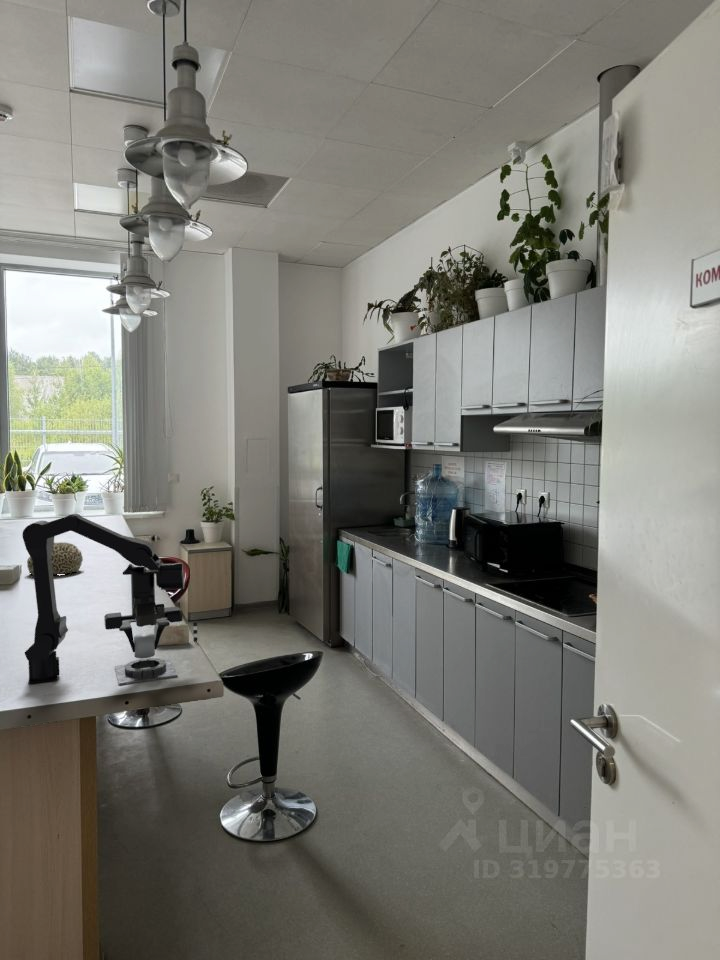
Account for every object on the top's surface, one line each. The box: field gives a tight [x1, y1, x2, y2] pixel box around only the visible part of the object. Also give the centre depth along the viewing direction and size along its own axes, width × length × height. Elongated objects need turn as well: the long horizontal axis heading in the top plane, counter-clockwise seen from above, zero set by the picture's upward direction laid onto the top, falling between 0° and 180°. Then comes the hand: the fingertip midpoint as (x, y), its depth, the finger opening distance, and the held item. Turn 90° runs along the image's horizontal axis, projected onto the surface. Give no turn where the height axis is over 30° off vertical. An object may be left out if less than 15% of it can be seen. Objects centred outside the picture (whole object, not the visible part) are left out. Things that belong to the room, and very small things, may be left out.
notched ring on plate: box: [114, 657, 179, 686], centre depth 172 cm, size 14×14×2 cm
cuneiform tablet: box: [153, 621, 198, 646], centre depth 196 cm, size 6×4×12 cm
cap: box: [133, 632, 156, 659], centre depth 171 cm, size 5×5×5 cm
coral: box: [26, 541, 84, 575], centre depth 303 cm, size 23×18×15 cm
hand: (144, 650), depth 172 cm, fingers closed on cap, 5 cm apart
